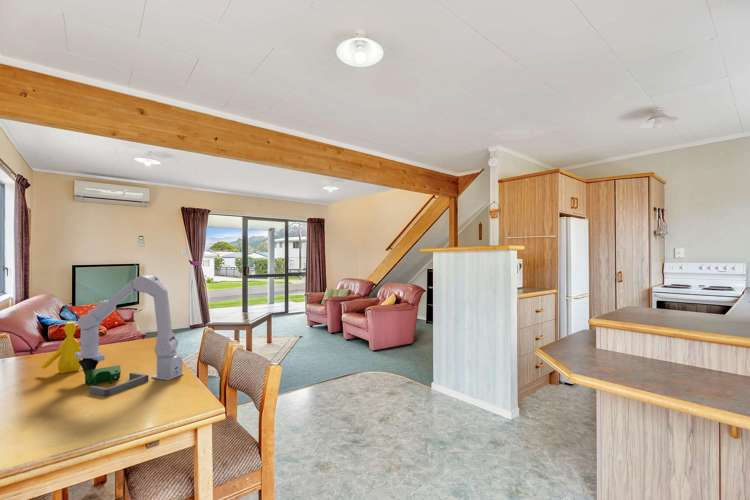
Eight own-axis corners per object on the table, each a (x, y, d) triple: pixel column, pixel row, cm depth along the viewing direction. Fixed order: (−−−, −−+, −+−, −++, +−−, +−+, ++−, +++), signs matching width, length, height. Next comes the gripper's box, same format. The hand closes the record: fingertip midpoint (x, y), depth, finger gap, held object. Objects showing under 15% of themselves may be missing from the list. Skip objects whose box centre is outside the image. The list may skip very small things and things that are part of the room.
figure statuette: (93, 364, 163) (94, 317, 163) (96, 368, 157) (96, 320, 157) (40, 374, 150) (41, 323, 150) (41, 379, 145) (42, 325, 145)
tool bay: (148, 381, 143) (148, 374, 143) (106, 396, 127) (106, 389, 127) (132, 378, 146) (132, 372, 146) (89, 393, 130) (89, 386, 130)
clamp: (91, 398, 136) (79, 381, 133) (91, 389, 141) (79, 373, 137) (126, 380, 142) (115, 364, 139) (125, 373, 147) (115, 356, 143)
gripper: (66, 344, 141) (66, 377, 141) (91, 347, 136) (90, 382, 136) (85, 339, 147) (85, 372, 147) (110, 343, 143) (109, 376, 143)
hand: (89, 376), depth 142 cm, fingers closed
